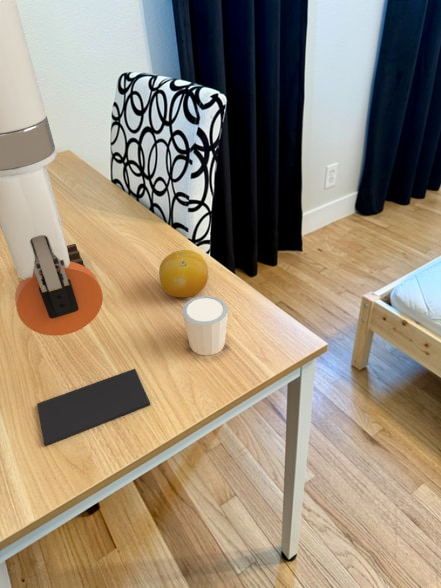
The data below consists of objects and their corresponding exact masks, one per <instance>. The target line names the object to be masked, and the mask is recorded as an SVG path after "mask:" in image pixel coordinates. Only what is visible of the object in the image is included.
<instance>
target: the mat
mask: <svg viewBox="0 0 441 588" xmlns="http://www.w3.org/2000/svg"><path fill="white" fill-rule="evenodd" d="M150 406H151V401H150V400H149V397H148V395H147V392H146V390H145V388H144V386H143V384H142V381H141V379H140V377H139V374H138V372H137V370H136V368H133V369H130V370H126V371H124V372H121V373H118V374H115V375H113V376H111V377H107V378H104V379H102V380H99V381H97V382H93V383H90V384H88V385H85V386H82V387H79V388H76V389H73V390H70V391H68V392H65V393H63V394H60V395H56V396H54V397H51V398H49V399H45V400H43V401H40V402H38V403H36V407H37V411H38V417H39V423H40V429H41V434H42V440H43V445H44V447H48V446H50V445H53V444H55V443H58V442H60V441H63V440H66V439H68V438H71V437H74V436H76V435H78V434H81V433H83V432H86V431H89V430H91V429H94V428H97V427H99V426H102V425H104V424H107V423H108V422H109V423H110V422H111V421H114V420H116V419H120V418H122V417H124V416H127V415H129V414H131V413H134V412H137V411H139V410H142V409H145V408H147V407H150Z"/></svg>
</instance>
